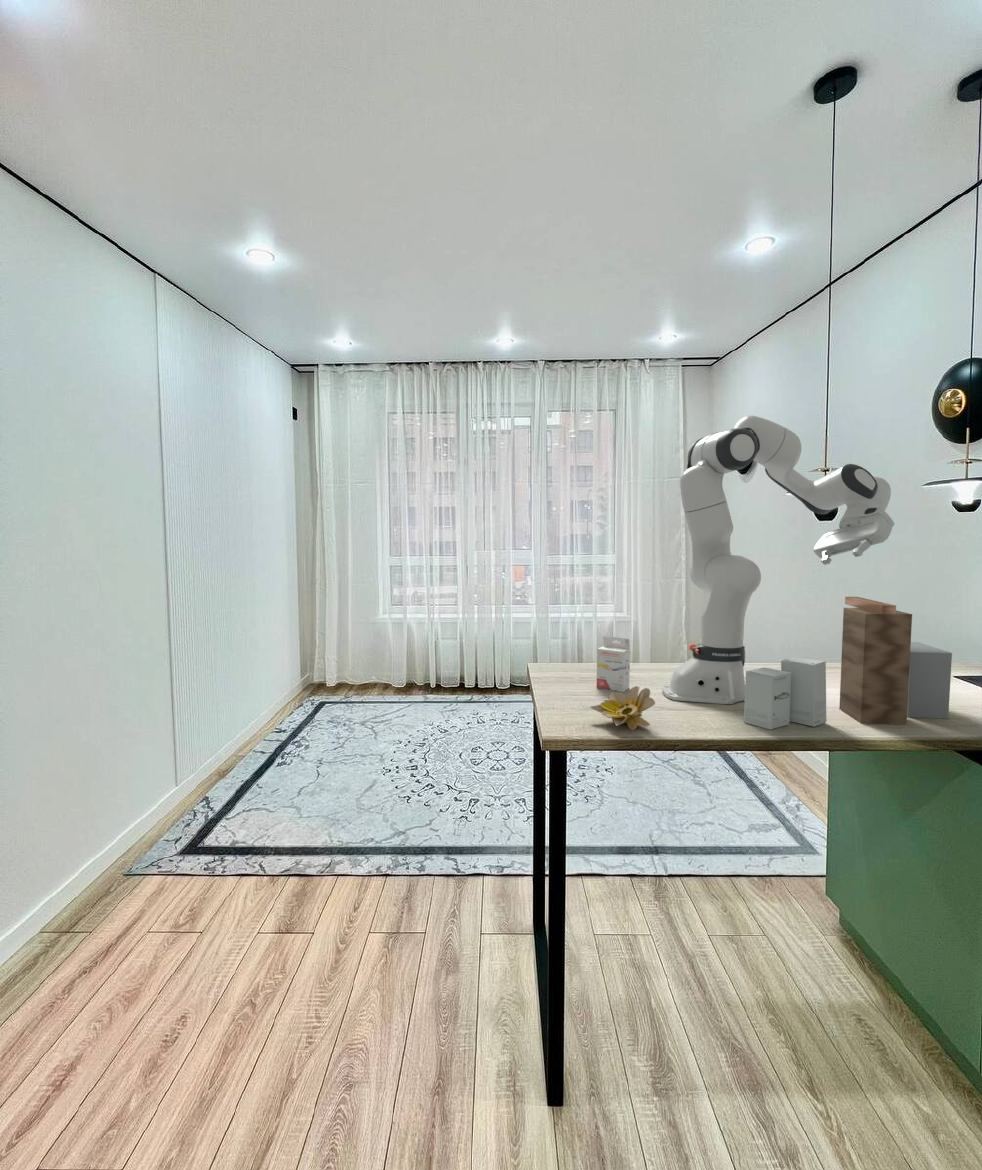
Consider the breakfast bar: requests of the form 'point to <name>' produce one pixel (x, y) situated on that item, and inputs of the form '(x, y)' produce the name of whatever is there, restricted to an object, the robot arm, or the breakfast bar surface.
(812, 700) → the skincare box
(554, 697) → the breakfast bar surface
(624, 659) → the ink cartridge box
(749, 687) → the supplement box
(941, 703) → the grey block
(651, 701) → the decorative flower
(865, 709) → the walnut stand
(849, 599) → the slat
